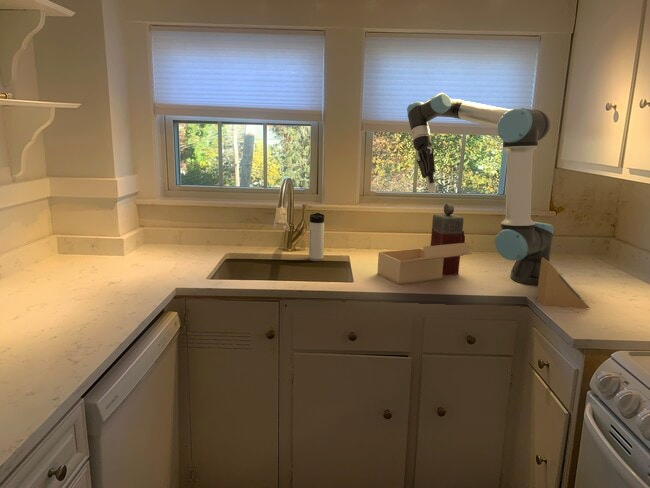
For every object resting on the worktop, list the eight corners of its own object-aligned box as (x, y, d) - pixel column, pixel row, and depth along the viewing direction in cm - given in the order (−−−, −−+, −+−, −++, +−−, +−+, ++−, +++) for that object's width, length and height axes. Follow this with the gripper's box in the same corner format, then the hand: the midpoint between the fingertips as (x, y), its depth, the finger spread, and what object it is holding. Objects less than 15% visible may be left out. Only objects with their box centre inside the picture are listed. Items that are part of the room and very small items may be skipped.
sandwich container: (591, 309, 164) (598, 266, 160) (543, 306, 166) (549, 263, 162) (582, 301, 172) (588, 259, 169) (536, 297, 174) (541, 256, 171)
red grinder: (463, 274, 200) (470, 205, 194) (438, 275, 197) (444, 205, 190) (452, 268, 208) (458, 202, 202) (428, 269, 205) (433, 202, 199)
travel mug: (323, 257, 218) (325, 213, 214) (322, 261, 212) (323, 215, 208) (309, 257, 219) (310, 212, 214) (307, 260, 213) (308, 215, 208)
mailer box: (377, 274, 196) (378, 252, 194) (418, 269, 205) (420, 248, 203) (398, 284, 183) (400, 261, 181) (441, 279, 192) (443, 256, 190)
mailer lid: (423, 246, 168) (424, 258, 167) (469, 242, 176) (471, 253, 176) (398, 251, 181) (400, 262, 181) (443, 246, 190) (444, 257, 190)
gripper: (407, 145, 214) (417, 197, 210) (419, 132, 202) (430, 186, 197) (423, 144, 216) (433, 195, 211) (436, 131, 204) (447, 185, 199)
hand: (432, 191), depth 204 cm, fingers closed
